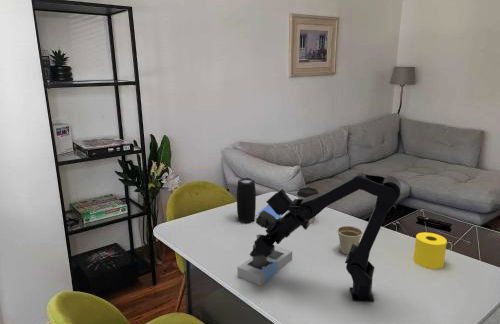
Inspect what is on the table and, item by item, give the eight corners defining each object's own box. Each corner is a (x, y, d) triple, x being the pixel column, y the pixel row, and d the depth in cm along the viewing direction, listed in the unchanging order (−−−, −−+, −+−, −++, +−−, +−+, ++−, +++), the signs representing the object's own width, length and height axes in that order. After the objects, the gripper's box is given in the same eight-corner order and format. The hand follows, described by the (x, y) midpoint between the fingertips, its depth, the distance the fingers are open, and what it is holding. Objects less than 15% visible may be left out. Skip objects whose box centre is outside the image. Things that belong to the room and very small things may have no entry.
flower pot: (362, 258, 141) (363, 237, 139) (336, 256, 143) (337, 235, 141) (360, 247, 150) (361, 226, 148) (335, 244, 152) (337, 225, 150)
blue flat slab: (279, 221, 176) (279, 218, 176) (255, 216, 182) (255, 214, 181) (293, 207, 193) (293, 205, 193) (271, 203, 199) (271, 201, 198)
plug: (267, 275, 130) (267, 238, 126) (253, 276, 129) (253, 239, 126) (265, 268, 134) (265, 232, 131) (251, 269, 134) (251, 233, 130)
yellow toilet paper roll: (437, 255, 143) (440, 232, 141) (448, 269, 133) (451, 245, 131) (409, 254, 144) (412, 232, 142) (418, 268, 134) (421, 244, 132)
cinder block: (292, 259, 140) (293, 248, 139) (260, 285, 124) (260, 273, 123) (271, 252, 146) (271, 241, 145) (237, 276, 129) (237, 264, 128)
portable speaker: (236, 224, 172) (236, 183, 167) (237, 216, 181) (237, 177, 176) (255, 224, 171) (255, 183, 167) (255, 216, 181) (255, 177, 176)
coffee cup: (292, 219, 177) (293, 188, 174) (309, 215, 181) (311, 185, 178) (303, 226, 169) (304, 195, 165) (321, 223, 173) (323, 192, 169)
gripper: (280, 197, 132) (251, 221, 139) (260, 216, 116) (228, 242, 123) (301, 221, 131) (271, 244, 138) (284, 244, 114) (251, 269, 121)
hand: (255, 249), depth 130 cm, fingers open, 9 cm apart
